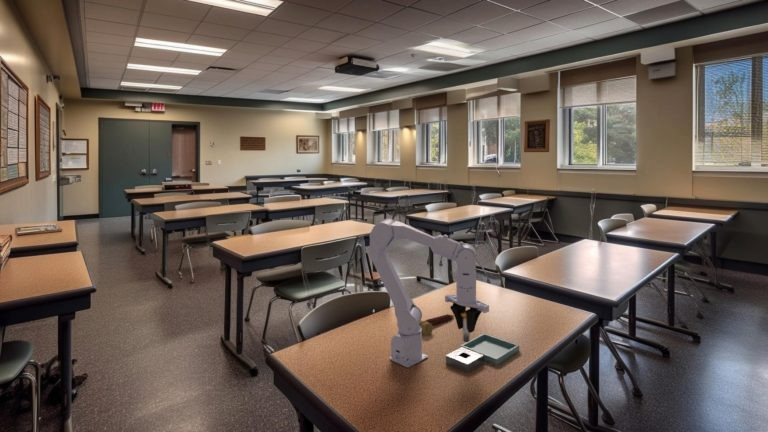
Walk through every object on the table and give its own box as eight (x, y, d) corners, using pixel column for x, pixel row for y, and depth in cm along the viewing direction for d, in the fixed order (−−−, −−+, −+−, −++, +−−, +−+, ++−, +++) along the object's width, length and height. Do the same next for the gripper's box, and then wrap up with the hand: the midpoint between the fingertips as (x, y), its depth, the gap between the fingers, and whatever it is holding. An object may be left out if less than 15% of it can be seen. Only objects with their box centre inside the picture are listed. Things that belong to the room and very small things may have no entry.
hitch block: (467, 372, 119) (467, 364, 119) (445, 363, 125) (445, 355, 124) (483, 363, 124) (483, 355, 124) (461, 354, 130) (461, 346, 130)
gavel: (444, 307, 165) (463, 313, 157) (443, 318, 165) (463, 325, 157) (405, 316, 151) (424, 324, 144) (404, 328, 152) (423, 337, 144)
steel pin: (467, 344, 122) (467, 315, 120) (458, 340, 124) (458, 312, 123) (474, 340, 124) (474, 312, 123) (464, 337, 126) (464, 309, 125)
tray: (496, 365, 123) (496, 359, 122) (460, 351, 132) (460, 345, 132) (519, 351, 131) (519, 345, 131) (483, 338, 141) (483, 333, 141)
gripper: (495, 287, 119) (494, 332, 121) (454, 278, 130) (455, 319, 131) (481, 293, 114) (480, 340, 116) (440, 283, 125) (440, 325, 127)
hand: (466, 329), depth 123 cm, fingers closed on steel pin, 3 cm apart
